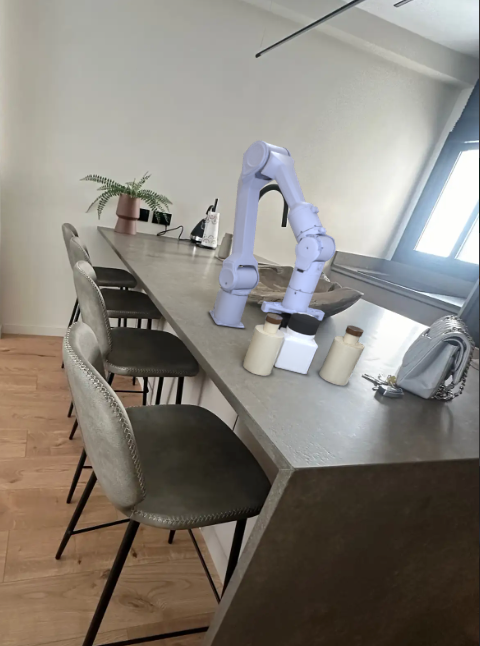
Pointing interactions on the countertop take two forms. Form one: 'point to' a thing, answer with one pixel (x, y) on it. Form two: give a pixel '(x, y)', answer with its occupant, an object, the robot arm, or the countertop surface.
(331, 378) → the cream bottle far
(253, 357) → the cream bottle near
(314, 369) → the countertop surface
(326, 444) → the countertop surface
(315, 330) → the medicine bottle
